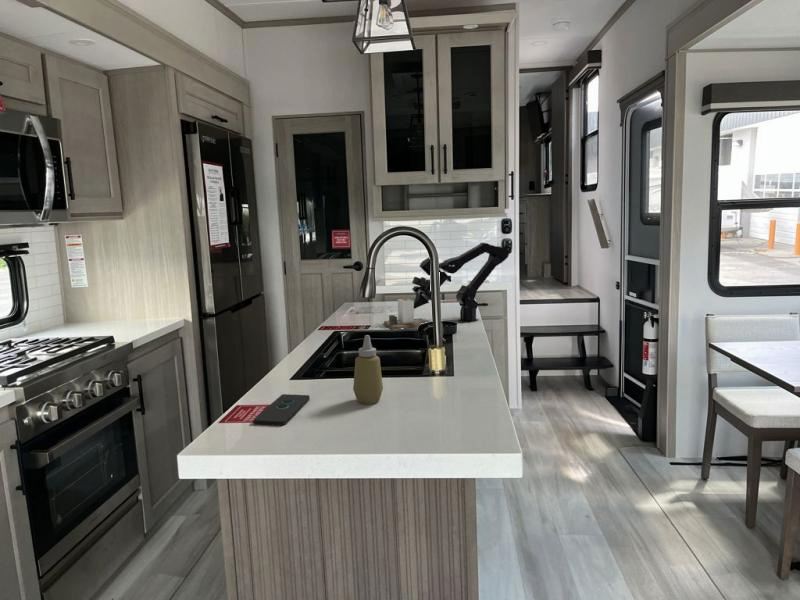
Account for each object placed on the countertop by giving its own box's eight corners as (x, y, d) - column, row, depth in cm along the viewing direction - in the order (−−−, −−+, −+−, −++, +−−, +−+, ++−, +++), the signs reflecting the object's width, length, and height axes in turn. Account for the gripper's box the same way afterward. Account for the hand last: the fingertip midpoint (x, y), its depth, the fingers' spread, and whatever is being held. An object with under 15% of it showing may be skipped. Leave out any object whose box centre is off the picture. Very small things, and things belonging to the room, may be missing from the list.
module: (408, 320, 260) (408, 296, 258) (414, 323, 253) (413, 298, 251) (397, 320, 258) (397, 296, 256) (403, 323, 251) (402, 299, 249)
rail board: (421, 320, 265) (421, 311, 264) (432, 326, 252) (432, 316, 251) (383, 323, 260) (383, 314, 259) (393, 329, 247) (392, 319, 246)
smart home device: (310, 394, 158) (284, 421, 138) (311, 400, 158) (285, 428, 139) (281, 393, 159) (251, 419, 140) (282, 399, 160) (252, 426, 140)
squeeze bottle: (389, 399, 157) (388, 334, 154) (372, 408, 150) (371, 340, 147) (364, 394, 161) (362, 331, 158) (347, 403, 154) (345, 336, 152)
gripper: (416, 268, 263) (393, 293, 261) (430, 272, 245) (406, 299, 244) (432, 284, 267) (409, 309, 265) (447, 289, 249) (423, 316, 247)
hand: (411, 308), depth 255 cm, fingers closed, pressing on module
